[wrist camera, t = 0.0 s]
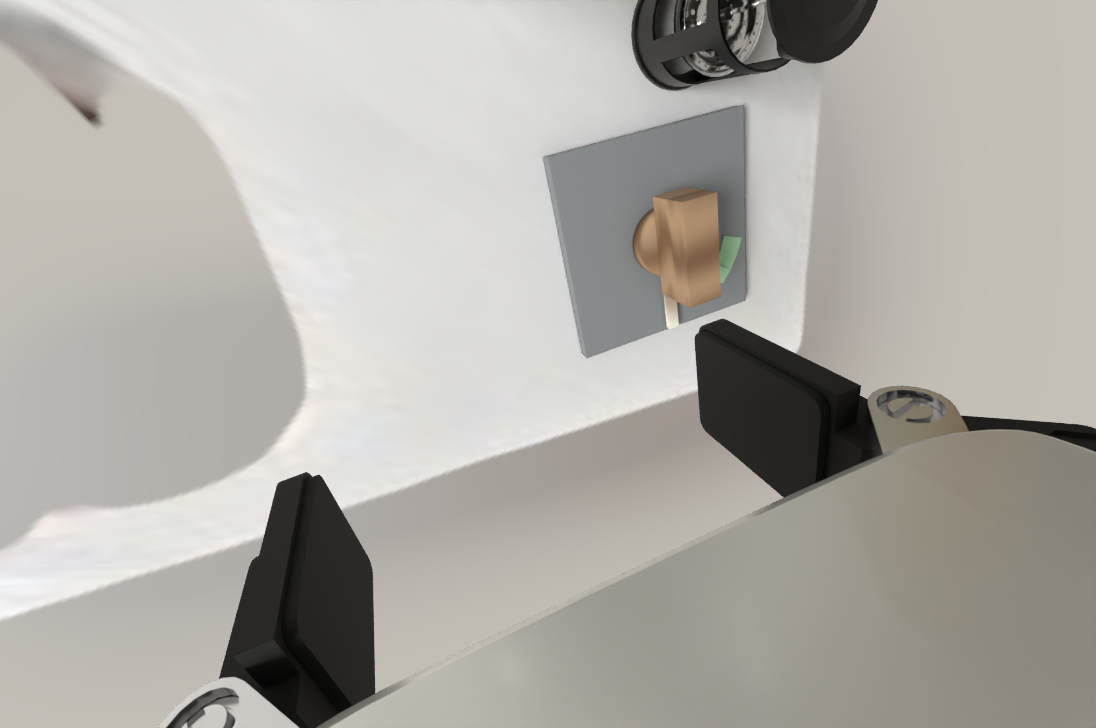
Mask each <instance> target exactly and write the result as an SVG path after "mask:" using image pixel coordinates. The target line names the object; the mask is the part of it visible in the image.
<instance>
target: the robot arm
mask: <svg viewBox="0 0 1096 728" xmlns="http://www.w3.org/2000/svg"><path fill="white" fill-rule="evenodd" d="M695 351H696V366H697V381H698V395H699V409H700V421H701V424H702V426H703V428H704V430H705V431H706V432H707V433H708V434H710V436H712V437H713V438H714V439H715V440H716V441H718V442H719V443H720V444H721V445H722V446H724V447H725V448H726V449H727V450H728V451H730V452H731V453H732V454H733V455H734V456H735V457H737V458H738V459H739V460H740V461H741V462H743V463H744V464H745V465H746V466H747V467H748V468H750V469H751V470H752V471H753V472H754V473H756V474H757V475H758V476H759V477H760V478H762V479H763V480H764V481H765V482H766V483H767V484H769V485H770V486H771V487H772V488H773V489H775V490H776V491H777V492H778V493H779V494H780V495H781V496H783V497H784V498H782V499H780V500H778V501H776V502H774V503H772V504H770V505H767V506H765V507H763V508H761V509H759V510H757V511H754V512H752V513H750V514H748V515H746V516H744V517H742V518H740V519H737V520H735V521H733V522H731V523H729V524H726V525H724V526H722V527H720V528H718V529H716V530H714V531H711V532H709V533H707V534H705V535H703V536H701V537H699V538H697V539H695V540H693V541H690V542H688V543H686V544H684V545H682V546H680V547H677V548H675V549H673V550H671V551H669V552H667V553H665V554H663V555H660V556H658V557H656V558H654V559H652V560H650V561H648V562H646V563H643V564H641V565H640V566H637V567H635V568H633V569H631V570H629V571H627V572H625V573H622V574H621V575H618V576H616V577H614V578H612V579H610V580H608V581H606V582H603V583H601V584H599V585H597V586H595V587H593V588H591V589H589V590H586V591H585V592H582V593H580V594H578V595H576V596H574V597H572V598H570V599H568V600H566V601H563V602H561V603H559V604H557V605H555V606H553V607H551V608H549V609H547V610H545V611H543V612H540V613H539V614H537V615H534V616H532V617H530V618H528V619H526V620H524V621H522V622H520V623H518V624H515V625H513V626H511V627H509V628H507V629H505V630H503V631H501V632H499V633H497V634H495V635H493V636H490V637H488V638H486V639H484V640H482V641H480V642H478V643H476V644H474V645H472V646H469V647H467V648H465V649H463V650H461V651H459V652H457V653H455V654H453V655H451V656H449V657H447V658H445V659H443V660H441V661H439V662H437V663H435V664H433V665H431V666H429V667H427V668H425V669H423V670H421V671H419V672H417V673H415V674H413V675H411V676H409V677H407V678H405V679H403V680H401V681H399V682H397V683H395V684H393V685H391V686H389V687H387V688H385V689H383V690H381V691H379V692H377V693H376V694H375V661H374V616H373V615H374V612H373V572H372V567H371V563H370V560H369V558H368V556H367V554H366V553H365V551H364V549H363V547H362V545H361V544H360V542H359V540H358V539H357V537H356V535H355V533H354V532H353V530H352V528H351V526H350V525H349V523H348V521H347V520H346V518H345V516H344V514H343V513H342V511H341V509H340V507H339V506H338V504H337V502H336V500H335V499H334V497H333V495H332V494H331V492H330V490H329V488H328V487H327V485H326V483H325V481H324V480H323V478H322V477H321V476H320V475H317V476H314V477H312V476H311V475H310V474H309V473H307V472H305V473H303V474H300V475H297V476H295V477H292V478H289V479H287V480H284V481H281V482H279V483H278V485H277V487H276V491H275V495H274V499H273V503H272V507H271V511H270V515H269V519H268V523H267V527H266V531H265V535H264V539H263V543H262V546H261V551H260V554H259V556H258V557H256V558H255V559H254V560H252V562H251V564H250V567H249V570H248V574H247V577H246V581H245V585H244V588H243V592H242V596H241V599H240V603H239V607H238V610H237V614H236V618H235V622H234V625H233V629H232V633H231V636H230V640H229V644H228V647H227V651H226V655H225V659H224V662H223V666H222V670H221V673H220V677H219V679H218V680H215V681H213V682H210V683H207V684H206V685H204V686H202V687H201V688H199V689H197V690H196V691H194V692H193V693H191V694H190V695H189V696H188V697H186V698H185V699H184V700H183V701H182V702H180V703H179V704H178V705H177V706H176V707H175V708H174V709H173V710H172V711H171V712H170V713H169V715H168V716H167V717H166V718H165V719H164V720H163V721H162V722H161V724H160V725H159V727H158V728H1096V429H1095V428H1092V427H1088V426H1083V425H1077V424H1064V423H1053V422H1040V421H1026V420H1012V419H999V418H986V417H985V418H984V417H972V416H961V415H960V414H959V412H958V410H957V408H956V407H955V405H954V404H953V403H952V402H951V401H950V400H948V399H947V398H945V397H944V396H942V395H940V394H938V393H935V392H933V391H930V390H927V389H922V388H917V387H909V386H890V387H886V388H881V389H879V390H877V391H875V392H873V393H872V394H871V395H870V396H869V398H868V399H866V398H864V397H862V396H860V389H861V386H860V385H858V384H856V383H854V382H852V381H850V380H848V379H846V378H844V377H842V376H840V375H838V374H836V373H834V372H832V371H830V370H828V369H826V368H824V367H822V366H820V365H818V364H816V363H813V362H811V361H809V360H807V359H805V358H803V357H801V356H799V355H797V354H795V353H793V352H791V351H789V350H787V349H785V348H783V347H781V346H779V345H777V344H775V343H773V342H771V341H769V340H766V339H764V338H762V337H760V336H758V335H756V334H754V333H752V332H750V331H748V330H746V329H744V328H742V327H740V326H738V325H736V324H734V323H732V322H730V321H728V320H725V319H720V320H717V321H714V322H711V323H709V324H706V325H703V326H702V327H701V328H700V330H699V333H698V334H696V336H695Z"/></svg>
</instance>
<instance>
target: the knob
mask: <svg viewBox="0 0 1096 728" xmlns="http://www.w3.org/2000/svg"><path fill="white" fill-rule="evenodd" d="M653 206H654V208H653V209H651V210H650V211H648V212H647V213H646V214H645V215H644V216H643V217H642V218H641V220H640V221H639V223H638V225H637V226H636V229H635V231H634V235H633V242H632V247H633V253H634V256H635V259H636V261H637V262H638V264H639V265H640V266H641V267H642V268H643V269H645V270H647V271H649V272H651V273H653V274H656V275H658V276H661V286H662V294H663V295H664V304H665V314H666V324H667V328H669V329H671V328H674V327H677V326H679V321H678V309H677V302H679V303H681V304H683V305H685V306H687V307H689V308H692V307H695V306H698V305H700V304H703V303H706V302H709V301H711V300H714V299H717V298H720V297H721V283H720V256H719V229H718V202H717V192H714V191H707V190H700V189H693V188H686V187H684V188H681V189H677V190H674V191H671V192H667V193H664V194H661V195H657V196H654V197H653Z"/></svg>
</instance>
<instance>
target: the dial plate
mask: <svg viewBox="0 0 1096 728" xmlns="http://www.w3.org/2000/svg"><path fill="white" fill-rule="evenodd" d="M543 161H544V166H545V171H546V176H547V181H548V186H549V191H550V196H551V201H552V206H553V211H554V216H555V221H556V226H557V231H558V236H559V241H560V246H561V251H562V256H563V262H564V267H565V272H566V277H567V282H568V287H569V292H570V297H571V302H572V307H573V312H574V317H575V322H576V327H577V332H578V337H579V342H580V347H581V352H582V354H583V355H584V356H585V357H586V358H589V357H592V356H594V355H597V354H600V353H603V352H605V351H608V350H611V349H614V348H616V347H619V346H622V345H625V344H627V343H630V342H633V341H636V340H638V339H641V338H644V337H646V336H649V335H652V334H655V333H657V332H660V331H663V330H666V329H668V328H667V324H666V314H665V304H664V295H663V294H662V286H661V276H658V275H656V274H653V273H651V272H649V271H647V270H645V269H643V268H642V267H641V266H640V265H639V264H638V262H637V261H636V259H635V256H634V253H633V247H632V242H633V235H634V231H635V229H636V226H637V225H638V223H639V221H640V220H641V218H642V217H643V216H644V215H645V214H646V213H647V212H648V211H650V210H651V209H653V208H654V206H653V197H654V196H657V195H661V194H664V193H667V192H671V191H674V190H677V189H681V188H684V187H686V188H693V189H700V190H707V191H714V192H717V202H718V229H719V256H720V283H721V297H720V298H717V299H714V300H711V301H709V302H706V303H703V304H700V305H698V306H695V307H692V308H689V307H687V306H685V305H683V304H681V303H679V302H677V309H678V321H679V324H682V323H685V322H688V321H690V320H693V319H696V318H699V317H701V316H704V315H707V314H710V313H712V312H715V311H718V310H721V309H723V308H726V307H729V306H731V305H734V304H737V303H740V302H742V301H745V300H746V283H745V189H744V105H742V106H733V107H729V108H725V109H722V110H718V111H714V112H710V113H707V114H703V115H699V116H695V117H692V118H688V119H684V120H680V121H677V122H673V123H669V124H665V125H662V126H658V127H654V128H650V129H647V130H643V131H639V132H635V133H632V134H628V135H624V136H620V137H616V138H613V139H609V140H605V141H601V142H598V143H594V144H590V145H586V146H583V147H579V148H575V149H571V150H568V151H564V152H560V153H556V154H553V155H549V156H545V157H543Z"/></svg>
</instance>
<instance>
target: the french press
mask: <svg viewBox="0 0 1096 728" xmlns="http://www.w3.org/2000/svg"><path fill="white" fill-rule="evenodd" d="M658 1H659V0H638V3H637V5H636V8H635V11H634V16H633V21H632V46H633V51H634V55H635V58H636V61H637V63H638V65H639V68H640V69H641V71H642V72H643V74H644V75H645V77H646V78H647V79H648V80H649V81H651V82H652V83H653V84H654V85H656V86H658V87H660V88H662V89H666V90H681V89H685V88H688V87H690V86H692V85H696V84H700V83H704V82H709V81H715V80H720V79H726V78H732V77H737V76H743V75H749V74H758V73H764V72H769V71H773V70H776V69H778V68H780V67H782V66H784V65H785V64H787V63H788V62H789V61H790V60H797V61H800V62H803V63H820V62H824V61H828V60H831V59H833V58H835V57H836V56H838V55H840V54H841V53H843V52H844V51H845V50H846V49H847V48H849V47H850V46H851V45H852V44H853V43H854V41H855V40H856V39H857V38H858V37H859V36H860V34H861V33H862V31H863V30H864V28H865V26H866V25H867V23H868V22H869V20H870V17H871V15H872V13H873V11H874V9H875V7H876V4H877V1H878V0H677V1H676V6H675V12H674V34H671V35H668V36H665V37H662V38H660V39H657V40H655V31H654V24H655V14H656V9H657V4H658ZM764 4H767V12H768V18H769V22H770V25H771V29H772V32H773V34H774V36H775V38H776V40H777V51H778V54H779V56H780V57H781V58H776V59H771V60H767V61H762V62H757V63H752V64H747V65H745V64H744V62H745V61H746V60H747V59H748V57H749V56H750V54H751V53H752V51H753V49H754V48H755V46H756V43H757V41H758V39H759V36H760V33H761V29H762V26H763V19H764ZM678 57H683V59H684V60H685V61H686V63H687V64H688V65H689V66H691V67H692V68H693V69H691V70H690V71H688V72H686V73H684V74H672V73H671V72H670V71H669V70H668V69H667V67H666V66H665V64H664V63H663V61H667V60H671V59H674V58H678Z"/></svg>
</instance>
